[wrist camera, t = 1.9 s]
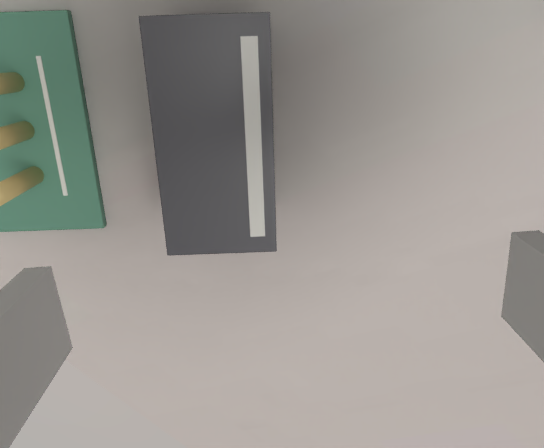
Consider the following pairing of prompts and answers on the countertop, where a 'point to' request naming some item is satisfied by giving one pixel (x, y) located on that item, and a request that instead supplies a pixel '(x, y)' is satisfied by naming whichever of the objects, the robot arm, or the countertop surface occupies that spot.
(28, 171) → the board
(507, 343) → the countertop surface
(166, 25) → the block
